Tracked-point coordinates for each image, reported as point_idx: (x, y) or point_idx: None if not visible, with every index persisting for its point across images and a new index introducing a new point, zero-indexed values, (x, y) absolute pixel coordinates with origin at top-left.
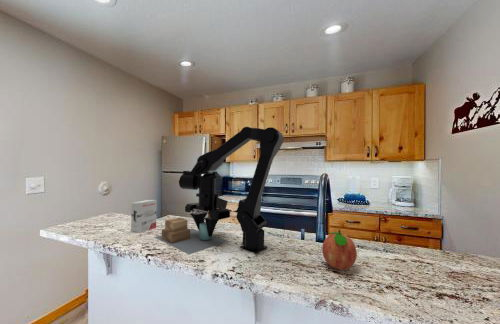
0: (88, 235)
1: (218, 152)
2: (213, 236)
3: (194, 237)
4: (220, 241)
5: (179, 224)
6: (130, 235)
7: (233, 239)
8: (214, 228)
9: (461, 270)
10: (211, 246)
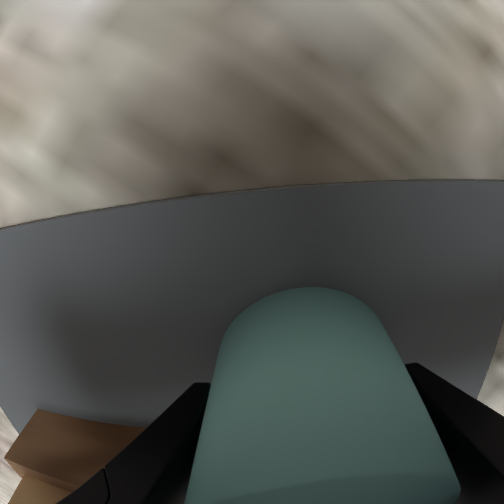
0: (5, 501)
1: None
2: (270, 212)
3: (162, 394)
4: (477, 261)
5: None
6: (11, 479)
7: (484, 69)
8: (497, 416)
9: None
10: (478, 385)
